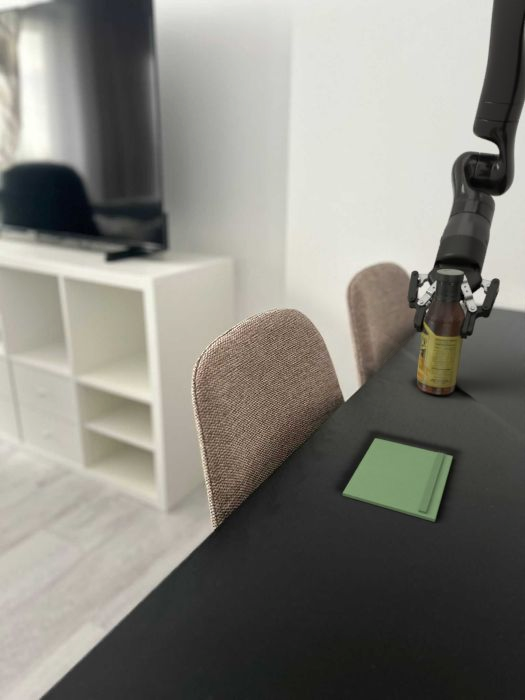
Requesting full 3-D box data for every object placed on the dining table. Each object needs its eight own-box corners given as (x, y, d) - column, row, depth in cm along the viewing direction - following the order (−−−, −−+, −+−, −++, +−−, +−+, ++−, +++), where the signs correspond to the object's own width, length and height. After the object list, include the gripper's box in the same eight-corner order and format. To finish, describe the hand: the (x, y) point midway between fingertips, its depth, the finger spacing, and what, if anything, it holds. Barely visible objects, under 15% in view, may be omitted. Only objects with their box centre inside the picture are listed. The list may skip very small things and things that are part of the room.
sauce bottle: (421, 379, 89) (435, 265, 82) (458, 386, 86) (476, 269, 79) (410, 392, 84) (424, 271, 77) (450, 401, 81) (468, 276, 74)
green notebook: (374, 440, 69) (375, 435, 69) (452, 458, 65) (453, 454, 65) (342, 495, 57) (342, 490, 57) (434, 522, 53) (435, 516, 53)
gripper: (508, 264, 86) (489, 351, 80) (421, 257, 92) (397, 337, 86) (511, 235, 80) (491, 328, 74) (417, 230, 86) (392, 314, 80)
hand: (440, 332), depth 80 cm, fingers closed on sauce bottle, 6 cm apart
